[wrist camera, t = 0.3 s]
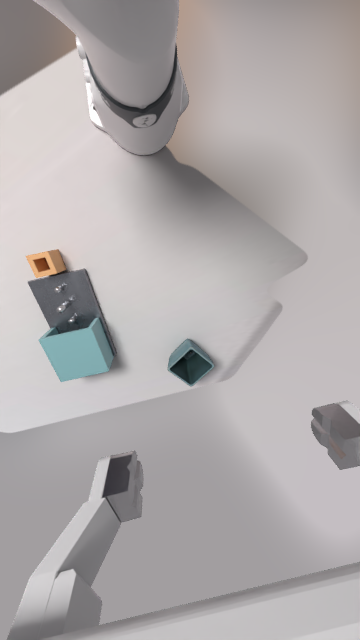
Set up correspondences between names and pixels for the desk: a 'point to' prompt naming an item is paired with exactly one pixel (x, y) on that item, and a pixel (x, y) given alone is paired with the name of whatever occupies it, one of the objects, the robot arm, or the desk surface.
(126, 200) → the desk surface
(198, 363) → the flower pot
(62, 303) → the housing base
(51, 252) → the hollow square tube
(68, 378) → the cover
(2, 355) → the desk surface
